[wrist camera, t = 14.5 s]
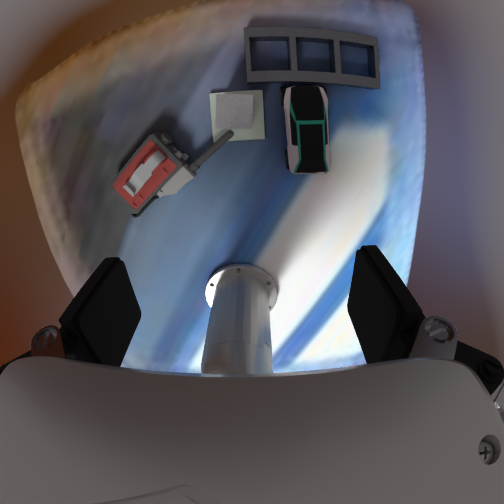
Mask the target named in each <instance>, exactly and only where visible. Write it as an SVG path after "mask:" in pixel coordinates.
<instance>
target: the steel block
mask: <svg viewBox="0 0 504 504" xmlns="http://www.w3.org/2000/svg"><path fill="white" fill-rule="evenodd" d="M253 98H254V97H253V95H249V94H216V119H215V129H252V120H253Z"/></svg>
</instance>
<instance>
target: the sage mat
mask: <svg viewBox="0 0 504 504" xmlns="http://www.w3.org/2000/svg"><path fill="white" fill-rule="evenodd" d="M216 94H249V95H253V97H254V98H253V120H252V129H215V119H216ZM210 107H211V119H212V132H213V142H216V141H217V140H218V139H219V138H220V137H221V136H222V135H224V134H225V133H226V132H227V131H228V130H232V131H233V132H234V136H233V137H232V138H231V139H229V140H228V141H237V140H255V139H265V131H264V111H263V92H262V90H247V91H232V92H221V93H211V94H210Z"/></svg>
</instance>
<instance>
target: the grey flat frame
mask: <svg viewBox="0 0 504 504" xmlns="http://www.w3.org/2000/svg"><path fill="white" fill-rule="evenodd" d="M244 39H245V55H246V72H247V84H257V83H310V84H327V85H340V86H350V87H359V88H366V89H380V72H379V56H378V44H377V37H373V36H368V35H362V34H357V33H350V32H344V31H336V30H328V29H317V28H303V27H246V28H244ZM250 41H287V49H288V65H289V71H288V70H274V71H251V57H250ZM296 41H305V42H320V43H329V55H330V72H331V73H330V72H316V71H298V69H297V52H296ZM340 45H347V46H354V47H360V48H366V49H367V54H368V70H369V77H365V76H358V75H350V74H342V73H341V56H340Z"/></svg>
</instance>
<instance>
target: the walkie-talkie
mask: <svg viewBox="0 0 504 504" xmlns="http://www.w3.org/2000/svg"><path fill="white" fill-rule="evenodd" d="M233 136H234V132H233V131H232V130H228V131H227V132H226V133H225V134H224V135H222V136H221V137H220V138H219V139H218V140H217V141H216V142H215V143H214V144H212V145H211V146H210V147H209V148H208V149H207V150H206V151H205V152H204V153H203V154H202V155H200V156H199V157H198V158H197V159H196V160H195V161H193V162H192V163H191V164H189V165H188V164H187V158H188V155H187V154H186V153H184V154H182V153H181V152H180V151H178V150H177V149H176V148H175V147H174V146H173V145H172V143H173V139H172V137H171V136H170V135H169V134H167V133H165V132H162V133H161V132H157V133H154V134H151V135H149V136H148V137H147V138H146V139H145V141H144V142H143V143H142V145H141V146H139V148H138V149H137V150H136V152H135V153H134V154H133V155H132V156H131V158H130V159H129V161H127V163H126V164H125V166H124V167H123V169H121V171H120V172H119V174H117V176H116V177H115V179H113V181H112V182H111V184H110V185H109V191H110V193H111V194H112V195H113V196H114V197H115V198H116V199H117V200H118V201H119V202H120V203H121V204H122V205H123V206H124V207H125V208H126V209H127V210H128V211H129V212H130V213H131V215H132V216H133V217H135V218H136V217H138V216H140V215H141V214H142V212H143V211H144V210H145V209H146V208H147V207H148V206H149V205H150V204H151V203H152V202H153V201H154V200H155V199H157V198H159V197H160V198H161V197H162V196H163V195H172V194H176V193H177V192H178V191H179V190H180V189H181V188H182V187H183V186H184V185H185V184H186V183H187V182H188V181H189V180H192V179H193V178H194V177H195V176H196V174H197V173H196V172H195V171H197V170H198V169H199V168H200V165H201V164H203V163H204V162H205V161H206V160H207V159H208V158H209V157H210V156H211V155H212V154H214V153H215V152H216V151H217V150H218V149H219V148H220V147H221V146H222V145H224V144H225V143H226V142H227V141H228V140H229V139H231V138H232V137H233ZM157 193H158V195H157V196H155V195H156V194H157ZM154 196H155V197H154Z"/></svg>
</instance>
